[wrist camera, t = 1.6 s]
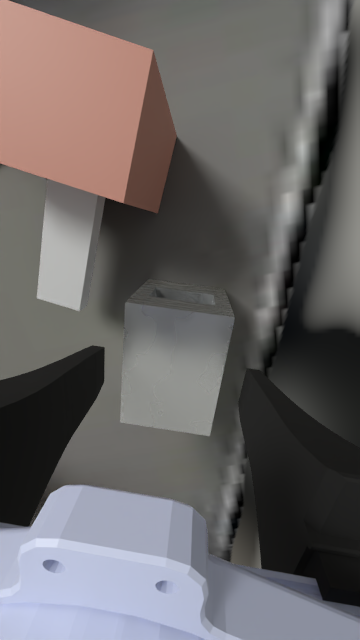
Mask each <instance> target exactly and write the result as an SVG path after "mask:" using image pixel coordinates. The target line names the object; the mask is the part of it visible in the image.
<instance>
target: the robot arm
mask: <svg viewBox="0 0 360 640" xmlns="http://www.w3.org/2000/svg"><path fill="white" fill-rule="evenodd" d="M103 383H104V347H99V346H90V347H88V348H85V349H83V350H81V351H79V352H76V353H74V354H72V355H70V356H68V357H66V358H63V359H61V360H59V361H56V362H54V363H52V364H49V365H47V366H44V367H42V368H39V369H37V370H34V371H31V372H28V373H25V374H22V375H18V376H15V377H11V378H8V379H4V380H0V640H360V448H359V447H357V446H355V445H354V444H352V443H350V442H348V441H347V440H345V439H343V438H342V437H340V436H338V435H337V434H335V433H334V432H332V431H330V430H329V429H328V428H326V427H325V426H323V425H322V424H320V423H319V422H318V421H316V420H315V419H314V418H312V417H311V416H309V415H308V414H307V413H306V412H304V411H303V410H302V409H301V408H299V407H298V406H297V405H296V404H295V403H294V402H292V401H291V400H290V399H289V398H288V397H287V396H286V395H285V394H284V393H283V392H281V391H280V390H279V389H278V388H277V387H276V386H275V385H274V384H273V383H272V382H271V381H270V380H269V379H268V378H267V377H266V376H265V375H264V374H263V373H262V372H261V371H260V370H254V369H247V370H246V374H245V378H244V382H243V386H242V390H241V394H240V398H239V414H240V422H241V427H242V431H243V436H244V440H245V444H246V448H247V453H248V457H249V461H250V466H251V471H252V478H253V486H254V494H255V502H256V511H257V521H258V531H259V541H260V553H261V566H262V569H259V568H253V567H248V566H242V565H236V564H232V563H230V562H228V561H225V560H223V559H220V558H218V557H216V556H213V555H211V554H209V553H208V532H207V526H206V520H205V519H204V518H203V517H202V516H201V515H200V514H199V513H198V512H197V511H196V510H195V509H194V508H193V507H192V506H190V505H188V504H185V503H182V502H179V501H177V500H174V499H169V498H163V497H158V496H152V495H146V494H140V493H134V492H128V491H122V490H116V489H110V488H105V487H99V486H93V485H87V484H74V485H65V486H63V487H61V488H59V489H57V490H56V491H54V492H52V493H50V495H49V497H48V499H47V500H46V502H45V504H44V506H43V507H42V509H41V511H40V513H39V514H38V516H37V518H36V520H35V521H34V523H33V525H32V526H29V524H30V522H31V520H32V517H33V515H34V513H35V511H36V508H37V506H38V504H39V502H40V500H41V497H42V495H43V493H44V491H45V489H46V486H47V484H48V482H49V480H50V478H51V476H52V474H53V472H54V470H55V468H56V466H57V464H58V462H59V460H60V458H61V456H62V454H63V452H64V450H65V448H66V446H67V444H68V442H69V441H70V439H71V437H72V436H73V434H74V432H75V431H76V429H77V428H78V426H79V425H80V423H81V422H82V420H83V418H84V417H85V415H86V414H87V412H88V411H89V409H90V408H91V406H92V404H93V403H94V401H95V400H96V398H97V396H98V394H99V392H100V390H101V387H102V385H103Z"/></svg>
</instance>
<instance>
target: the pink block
mask: <svg viewBox="0 0 360 640" xmlns="http://www.w3.org/2000/svg"><path fill="white" fill-rule="evenodd" d="M176 137H177V135H176V132H175V128H174V124H173V121H172V117H171V113H170V110H169V106H168V102H167V99H166V95H165V91H164V88H163V84H162V80H161V77H160V73H159V69H158V66H157V62H156V58H155V55H154V51H153V50H151V49H148V48H145V47H142V46H139V45H137V44H134V43H131V42H128V41H125V40H122V39H119V38H116V37H113V36H110V35H107V34H105V33H102V32H99V31H96V30H93V29H90V28H87V27H84V26H81V25H78V24H76V23H73V22H70V21H67V20H64V19H61V18H58V17H55V16H52V15H49V14H47V13H44V12H41V11H38V10H35V9H32V8H29V7H26V6H23V5H20V4H17V3H15V2H12V1H9V0H0V163H1V164H4V165H7V166H10V167H13V168H16V169H19V170H22V171H25V172H29V173H32V174H35V175H38V176H41V177H44V178H47V189H46V201H45V212H44V223H43V235H42V246H41V257H40V269H39V280H38V291H37V298H38V299H42V300H45V301H48V302H51V303H55V304H58V305H61V306H64V307H67V308H71V309H74V310H77V311H80V310H82V309H83V308H85V307H86V306H87V304H88V298H89V292H90V286H91V280H92V274H93V268H94V262H95V256H96V250H97V245H98V239H99V233H100V227H101V221H102V215H103V209H104V203H105V197H106V198H109V199H112V200H115V201H118V202H121V203H124V204H128V205H131V206H134V207H138V208H141V209H144V210H148V211H151V212H154V213H158V211H159V207H160V202H161V198H162V194H163V190H164V186H165V182H166V178H167V174H168V170H169V166H170V162H171V158H172V154H173V150H174V146H175V141H176Z"/></svg>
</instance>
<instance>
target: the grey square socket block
mask: <svg viewBox="0 0 360 640" xmlns="http://www.w3.org/2000/svg"><path fill="white" fill-rule="evenodd" d="M234 320H235V316H234V314H233V311H232V308H231V305H230V303H229V300H228V297H227V295H226V292H225V289H220V288H213V287H205V286H198V285H191V284H183V283H176V282H168V281H161V280H154V279H148V280H147V281H146V282H145V283H144V284H143V285H142V286H141V287H140V288H139V289H138V290H137V291H136V292H135V293H134V294H133V295H132V296H131V297H130V298H129V299H128V300H127V301H126V302H125V317H124V342H123V366H122V391H121V415H120V422H121V423H128V424H134V425H141V426H147V427H154V428H160V429H167V430H173V431H180V432H186V433H193V434H199V435H205V436H210V433H211V428H212V423H213V419H214V414H215V409H216V404H217V400H218V395H219V390H220V386H221V381H222V376H223V371H224V367H225V362H226V357H227V353H228V348H229V343H230V339H231V334H232V329H233V324H234Z"/></svg>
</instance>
